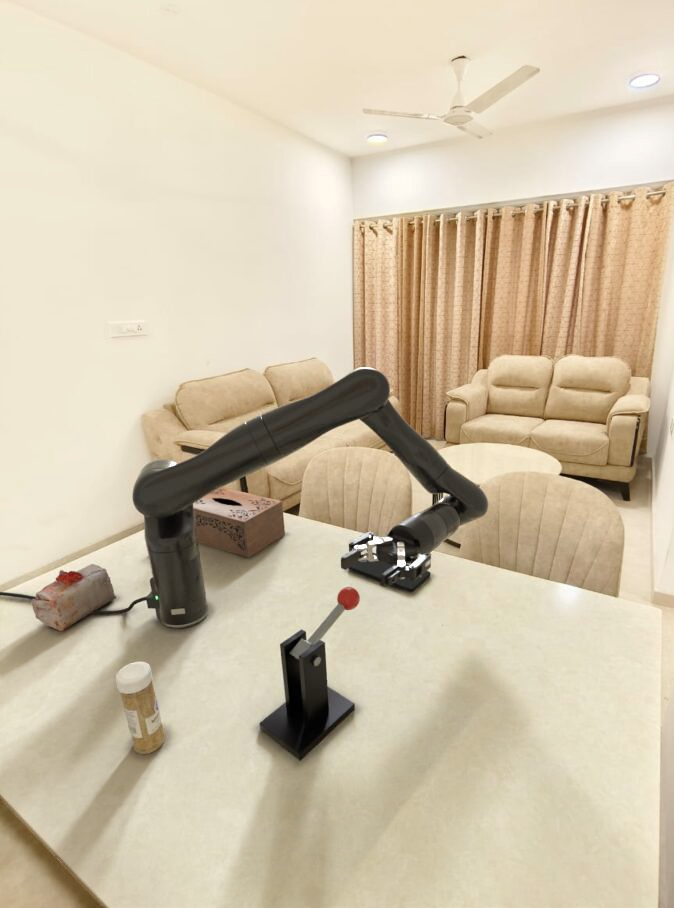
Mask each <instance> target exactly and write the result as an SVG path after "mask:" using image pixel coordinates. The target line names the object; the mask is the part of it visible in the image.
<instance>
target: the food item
mask: <svg viewBox="0 0 674 908" xmlns="http://www.w3.org/2000/svg"><path fill="white" fill-rule="evenodd" d="M58 573H59V574H58V576H56V577H55V581H52V582H51V583H49V584H47V585H45V586H44V587H43V588H42V589H40V590H39V591H37V592H36V593H35V597H36V598H35V599H31V601H30V602H29V603H30V605H31V606H32V610H33V613H34V615H35V619H36V620H39V621H40V622H41V623H42V624H43V625H44V626H46V627H50V628H52V629H55V630H57V631H59V632H64V631H65V630H67V629H68V628H71V627H72V626H73V625H74V624H76V623H77V622H79V621H80V620H82V619H84V618H85V617H86V616H88V615H91V614H92V613H91V612H92V611H94V610H100V609H101V608H102V607H103V606H105V605H107V604H109V603H110V602H112V601H113V600H115V599H117V596H116V595H115V593H114V592H115V591H114V586H113V584H112V581H111V577H110V576H109V573H108V571H107V568H103V567H101V566H100V565H97V564H94V563H91V564H89V565H87V566H85V567H83V568H81V569H79V570H77V571H76V570H70V571H64V570H63V569H60V570H59V572H58Z"/></svg>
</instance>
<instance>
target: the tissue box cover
mask: <svg viewBox="0 0 674 908" xmlns="http://www.w3.org/2000/svg"><path fill="white" fill-rule="evenodd" d="M283 506H284V505H283V500H279V499H274V498H271V497H266V496H262V495H258V494H253V493H248V492H244V491H241V490H236V489H233V488H232V489H231V488H227V487H225V486H222V487H220V488H218V489H216V490H214V491H213V492H211V493H209V494H207V495H206V496H204V497H203V498H201V499H199V500H198V501H196V502H195V503H193V508H194V515H195V527H196V536H197V542H198V544H203V545H207V546H209V547H212V548H215V549H218V550H222V551H226V552H229V553H231V554H235V555H239V556H241V557H244V558H248V559H249V558H251V557H253V556H254V555H256V554H257V553H259V552H260V551H262V550H263V549H265V548H267V547H268V546H270V545H271V544H273V543H274V542H276V541H277V540H279V539H280V538H282V537H283V536H285V535H286V531H285V530H286V529H285V518H284V517H285V516H284V507H283Z"/></svg>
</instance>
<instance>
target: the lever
mask: <svg viewBox="0 0 674 908" xmlns="http://www.w3.org/2000/svg"><path fill="white" fill-rule="evenodd" d="M336 600H337V605H336V606H334V608H333V609H332V610H331V611H330V613H329V614H328V615H327V617H326V618H325V619H324V620H323V621H322V622H321V623H320V625H319V626H318V627H317V629H316V630H315V631H314V632H313V633H312V634H311V636H310V637H309V638H308V639H307V641H306V640H304V639H301V640H300V641H299V642H298V643H297V644H296V646H295V647H294V648H293V649H292V650H291V651H290V655H291V657H292V658H293V660H294V661H295V662H296V663H297V664H299V655H300V654H302V653H303V652H304V651H306V650H307V649H309V648H310V647H311V646H313V645H314V644H315V643H317V642H318V641H319V640H321V641H322V639H323V638H324V636H325V635H326V634H327V633H328V631H329V630H330V629H331V628H332V626H333V625H334V624H335V623H336V622H337V620H338V619H339V618H340V616H341V615H342V614H343V613H344V612H345V611H352V610H355V609H356V608H357V607H358V605H359V604H360V601H361V596H360V593H359V591H358V590H357V589H356V588H354V587H352V586H346V587H342V588H341V589H340V591H339V592H338V593H337V597H336Z"/></svg>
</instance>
